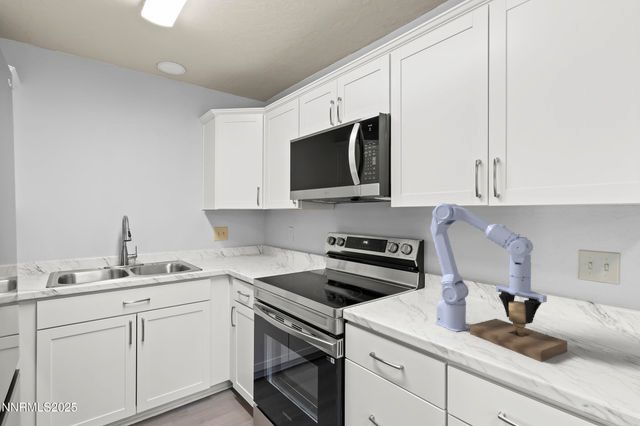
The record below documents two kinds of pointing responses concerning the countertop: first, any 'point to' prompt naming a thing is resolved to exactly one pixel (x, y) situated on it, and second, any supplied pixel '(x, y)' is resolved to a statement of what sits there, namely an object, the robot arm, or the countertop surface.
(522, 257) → the robot arm
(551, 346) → the walnut board
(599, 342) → the countertop surface
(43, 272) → the countertop surface
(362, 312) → the countertop surface
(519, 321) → the oak peg
